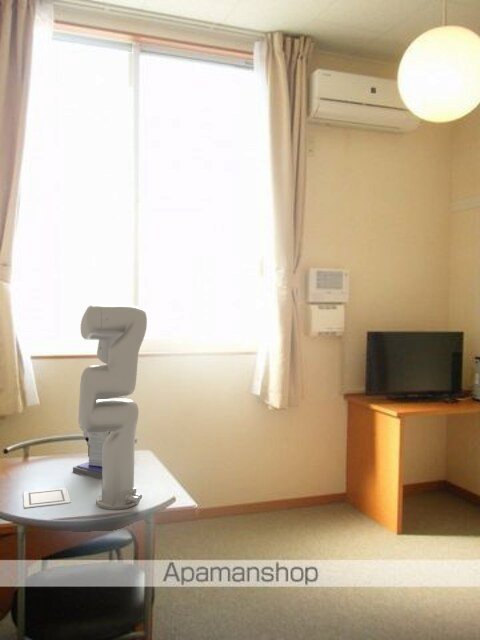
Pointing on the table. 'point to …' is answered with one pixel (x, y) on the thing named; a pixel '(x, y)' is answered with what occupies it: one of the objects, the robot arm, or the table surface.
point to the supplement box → (95, 451)
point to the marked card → (46, 497)
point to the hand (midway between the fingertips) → (99, 457)
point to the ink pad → (88, 470)
